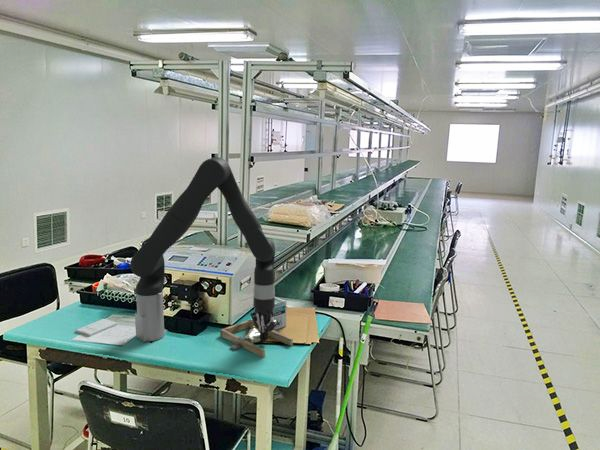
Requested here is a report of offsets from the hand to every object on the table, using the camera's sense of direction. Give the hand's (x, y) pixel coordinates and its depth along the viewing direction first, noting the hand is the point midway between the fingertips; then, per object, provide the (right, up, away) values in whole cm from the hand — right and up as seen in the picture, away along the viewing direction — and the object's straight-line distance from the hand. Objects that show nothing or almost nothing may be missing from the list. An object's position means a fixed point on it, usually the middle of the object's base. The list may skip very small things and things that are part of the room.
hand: (264, 340), depth 168 cm
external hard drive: (-65, +1, +12) cm, 66 cm away
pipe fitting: (-3, -1, +2) cm, 4 cm away
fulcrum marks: (-3, -1, +3) cm, 5 cm away
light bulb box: (+2, +2, +18) cm, 18 cm away
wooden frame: (-3, -1, +3) cm, 5 cm away
